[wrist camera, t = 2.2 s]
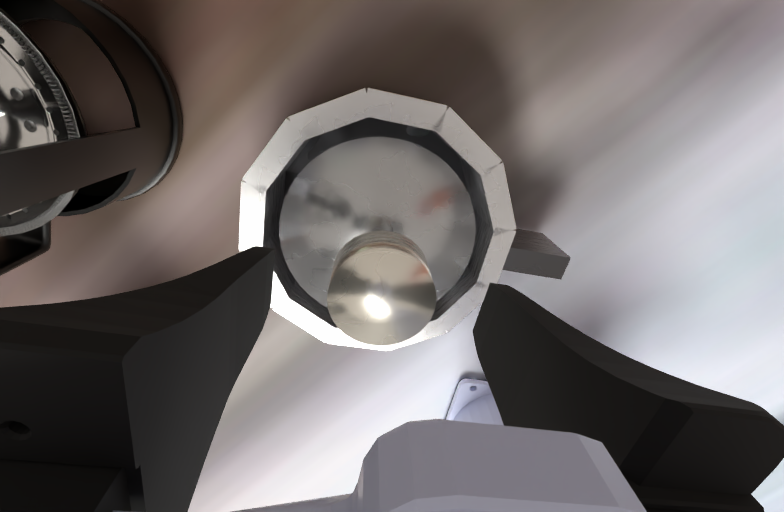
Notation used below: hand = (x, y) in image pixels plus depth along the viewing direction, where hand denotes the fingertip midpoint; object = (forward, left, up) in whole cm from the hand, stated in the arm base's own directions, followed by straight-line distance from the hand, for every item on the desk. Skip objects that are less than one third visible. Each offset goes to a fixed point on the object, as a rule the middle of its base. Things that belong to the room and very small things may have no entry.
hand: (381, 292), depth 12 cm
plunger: (0, 0, -6) cm, 6 cm away
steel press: (-2, 0, -9) cm, 9 cm away
